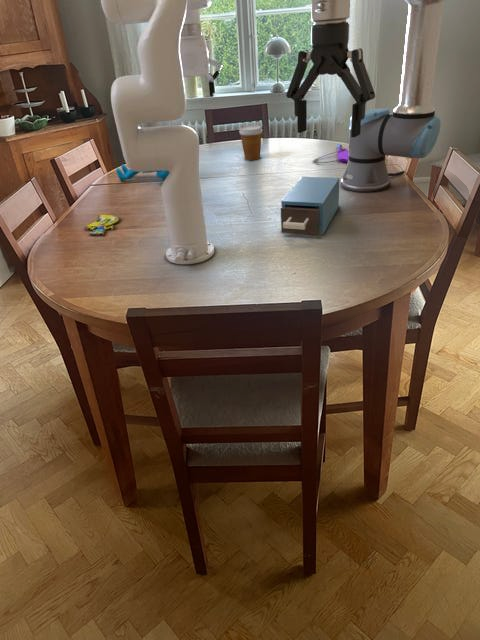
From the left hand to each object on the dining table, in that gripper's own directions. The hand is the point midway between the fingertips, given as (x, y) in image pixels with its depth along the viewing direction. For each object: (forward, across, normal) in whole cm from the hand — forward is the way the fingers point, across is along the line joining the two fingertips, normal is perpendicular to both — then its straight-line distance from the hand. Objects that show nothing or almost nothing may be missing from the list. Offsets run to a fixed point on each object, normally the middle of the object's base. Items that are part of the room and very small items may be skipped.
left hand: (196, 97), depth 145 cm
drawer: (+30, +31, -31) cm, 53 cm away
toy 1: (+31, -30, -20) cm, 48 cm away
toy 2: (+31, -22, +26) cm, 46 cm away
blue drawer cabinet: (+31, +33, -25) cm, 52 cm away
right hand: (+4, +34, -45) cm, 57 cm away
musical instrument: (+31, +47, +39) cm, 69 cm away
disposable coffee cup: (+31, +15, +46) cm, 58 cm away
